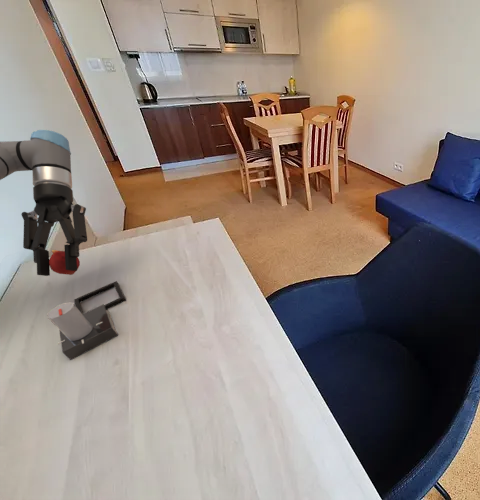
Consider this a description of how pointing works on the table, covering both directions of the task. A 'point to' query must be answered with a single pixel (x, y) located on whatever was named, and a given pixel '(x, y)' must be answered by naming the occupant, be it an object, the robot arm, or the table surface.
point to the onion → (60, 263)
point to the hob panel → (91, 333)
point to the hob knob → (70, 321)
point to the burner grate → (98, 291)
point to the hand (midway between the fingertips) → (57, 272)
